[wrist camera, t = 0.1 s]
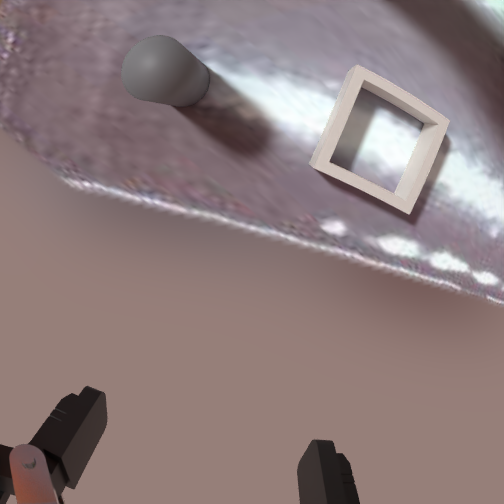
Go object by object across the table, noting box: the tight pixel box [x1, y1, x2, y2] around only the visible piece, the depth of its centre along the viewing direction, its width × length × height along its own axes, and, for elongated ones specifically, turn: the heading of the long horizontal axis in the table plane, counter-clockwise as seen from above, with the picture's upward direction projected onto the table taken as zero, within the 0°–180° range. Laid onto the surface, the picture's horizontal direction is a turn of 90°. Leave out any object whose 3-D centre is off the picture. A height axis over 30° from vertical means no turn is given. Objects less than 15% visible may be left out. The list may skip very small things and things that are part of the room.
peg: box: [121, 35, 210, 107], centre depth 21 cm, size 5×5×8 cm
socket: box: [309, 64, 450, 215], centre depth 25 cm, size 10×10×3 cm
